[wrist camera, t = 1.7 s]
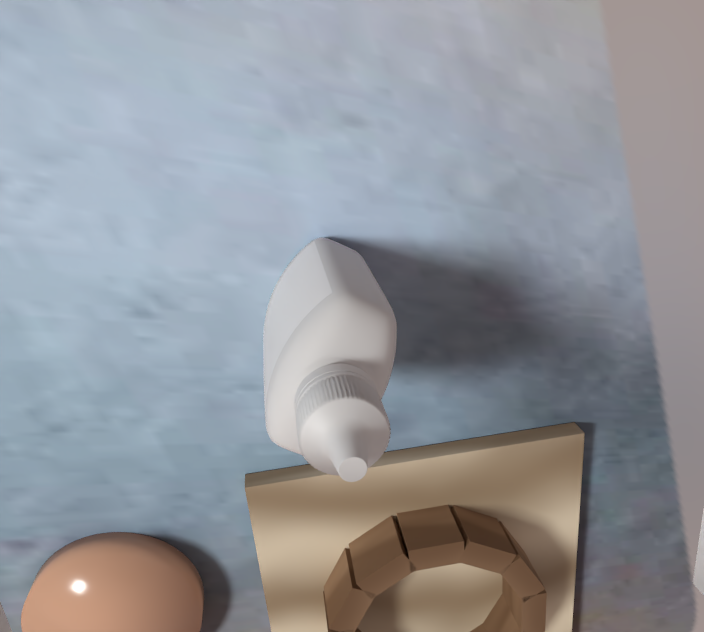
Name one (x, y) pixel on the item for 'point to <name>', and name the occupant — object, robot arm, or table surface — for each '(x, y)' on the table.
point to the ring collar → (426, 538)
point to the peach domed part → (115, 588)
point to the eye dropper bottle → (329, 360)
